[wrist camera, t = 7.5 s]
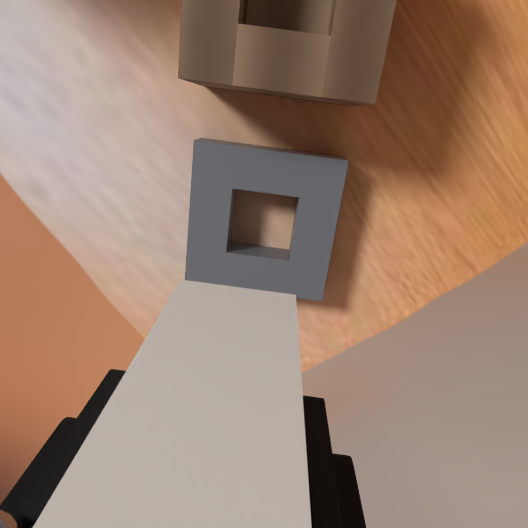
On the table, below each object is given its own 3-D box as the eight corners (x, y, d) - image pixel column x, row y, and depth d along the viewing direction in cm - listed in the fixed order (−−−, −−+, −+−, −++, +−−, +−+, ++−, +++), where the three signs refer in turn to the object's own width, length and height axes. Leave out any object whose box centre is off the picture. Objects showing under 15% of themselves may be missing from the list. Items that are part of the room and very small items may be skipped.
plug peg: (295, 294, 15) (326, 749, 4) (279, 390, 16) (273, 907, 6) (180, 279, 15) (-71, 699, 4) (175, 376, 16) (-24, 869, 6)
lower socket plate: (343, 156, 35) (348, 160, 32) (319, 287, 39) (322, 301, 36) (201, 137, 35) (193, 140, 32) (191, 270, 39) (184, 283, 36)
